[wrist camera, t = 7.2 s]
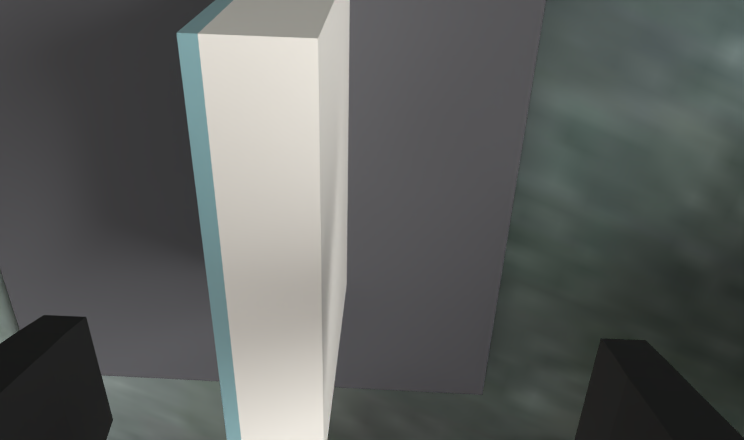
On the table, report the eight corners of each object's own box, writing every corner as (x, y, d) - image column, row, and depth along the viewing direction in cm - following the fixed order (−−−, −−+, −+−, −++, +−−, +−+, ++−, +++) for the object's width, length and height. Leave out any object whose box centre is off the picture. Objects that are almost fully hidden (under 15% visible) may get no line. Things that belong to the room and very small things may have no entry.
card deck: (346, 284, 19) (324, 466, 14) (279, 281, 19) (229, 461, 14) (350, -37, 15) (317, 38, 9) (262, -40, 15) (176, 33, 9)
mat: (480, 381, 22) (482, 394, 21) (41, 359, 22) (33, 371, 22) (586, -293, 13) (594, -298, 12) (-165, -315, 13) (-190, -322, 12)
